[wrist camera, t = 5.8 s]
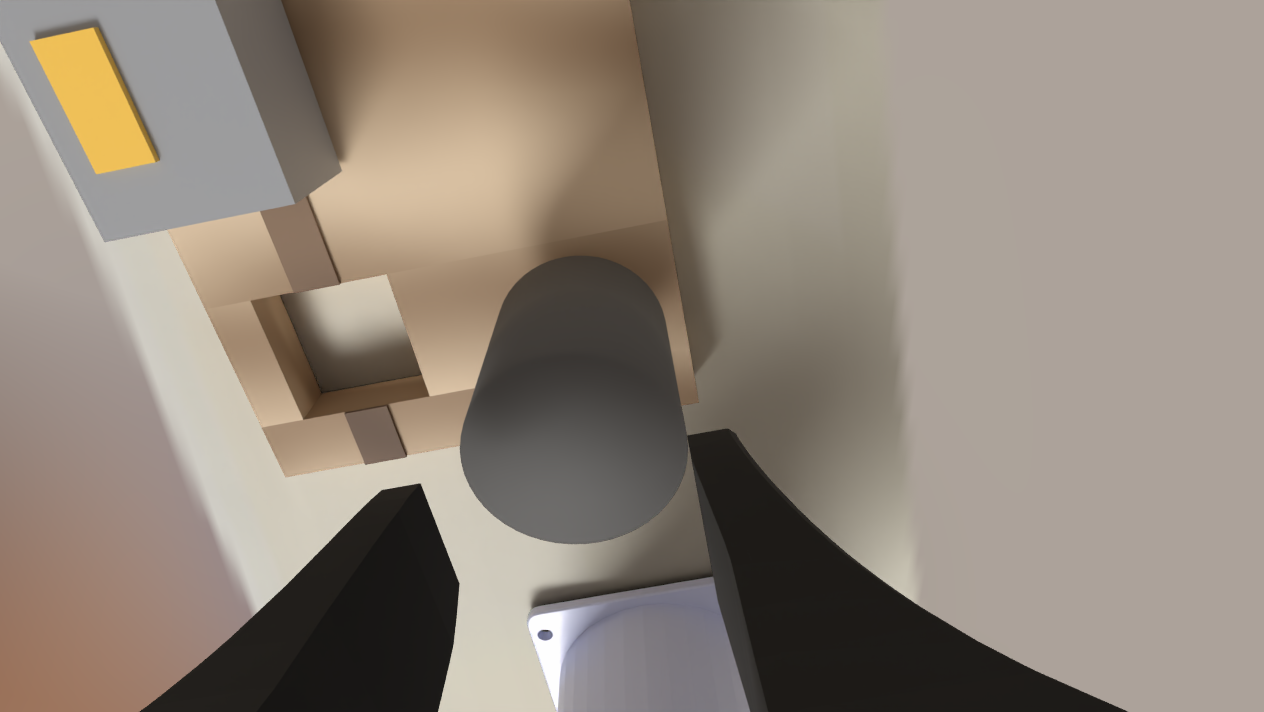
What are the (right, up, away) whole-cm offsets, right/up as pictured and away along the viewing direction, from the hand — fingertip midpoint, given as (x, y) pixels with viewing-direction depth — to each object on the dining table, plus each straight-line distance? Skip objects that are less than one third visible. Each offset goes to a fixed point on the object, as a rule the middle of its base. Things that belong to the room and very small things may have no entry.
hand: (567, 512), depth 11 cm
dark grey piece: (0, +4, +8) cm, 9 cm away
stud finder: (-8, +9, +5) cm, 13 cm away
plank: (-5, +7, +8) cm, 12 cm away
